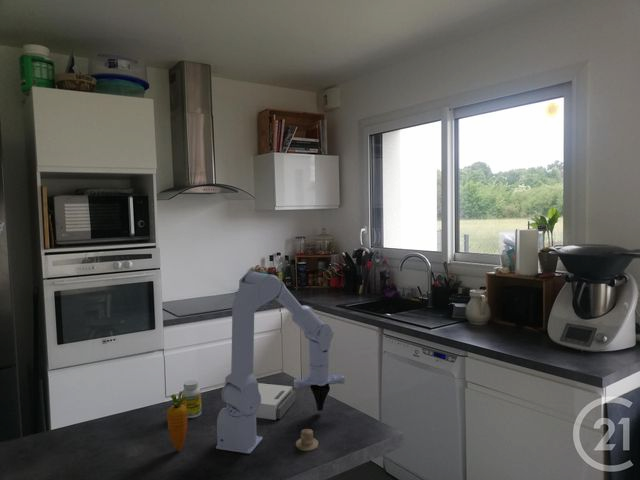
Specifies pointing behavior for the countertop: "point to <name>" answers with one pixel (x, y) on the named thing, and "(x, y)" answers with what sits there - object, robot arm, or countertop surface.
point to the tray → (286, 404)
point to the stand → (307, 441)
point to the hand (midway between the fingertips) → (319, 409)
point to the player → (271, 399)
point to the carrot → (177, 421)
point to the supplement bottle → (192, 398)
